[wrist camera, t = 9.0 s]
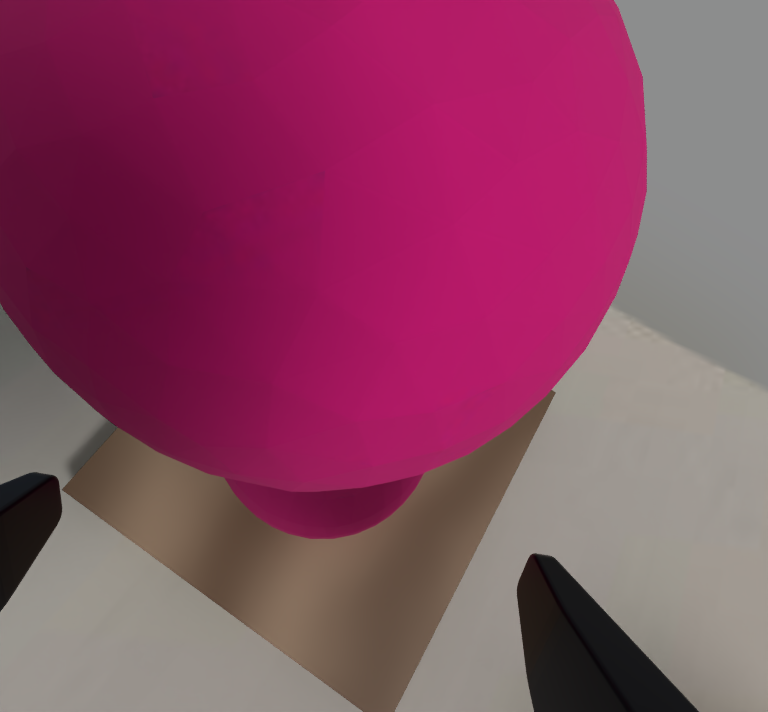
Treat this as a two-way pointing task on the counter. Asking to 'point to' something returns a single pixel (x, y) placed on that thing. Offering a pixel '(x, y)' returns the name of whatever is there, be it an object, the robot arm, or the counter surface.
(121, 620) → the counter surface
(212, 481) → the walnut board
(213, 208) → the pepper mill
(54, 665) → the counter surface
